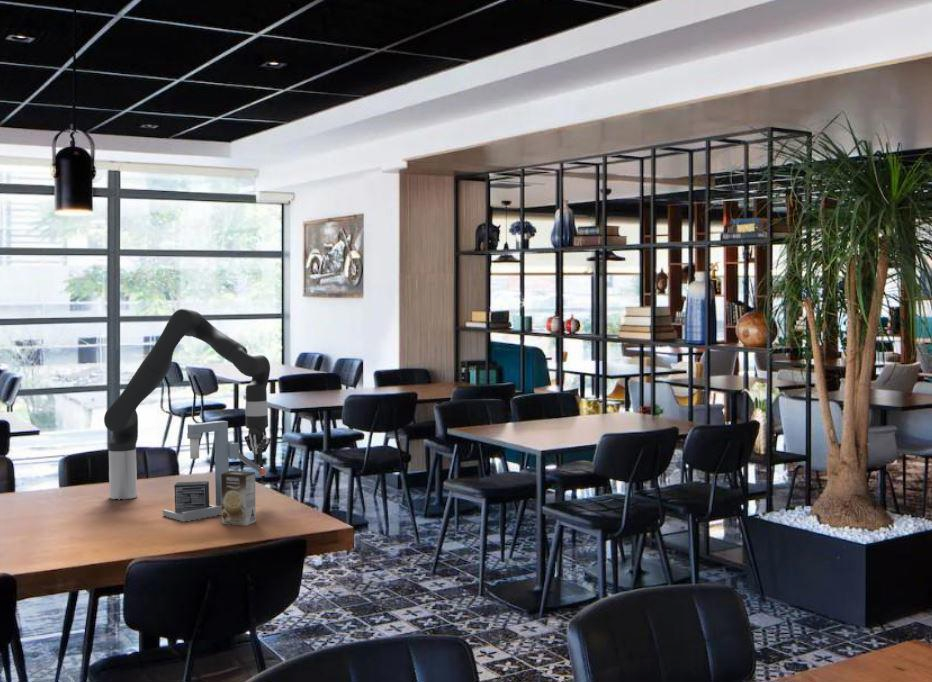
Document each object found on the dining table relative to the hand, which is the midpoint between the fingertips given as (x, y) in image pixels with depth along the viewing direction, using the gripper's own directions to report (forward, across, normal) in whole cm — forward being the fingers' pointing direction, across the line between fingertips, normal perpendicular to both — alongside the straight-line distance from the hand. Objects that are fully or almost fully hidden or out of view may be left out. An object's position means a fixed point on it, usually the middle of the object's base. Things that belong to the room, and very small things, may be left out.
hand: (258, 464), depth 349 cm
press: (+14, +2, +20) cm, 24 cm away
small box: (+14, +4, +23) cm, 27 cm away
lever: (0, 0, +5) cm, 5 cm away
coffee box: (+14, -19, +20) cm, 31 cm away
